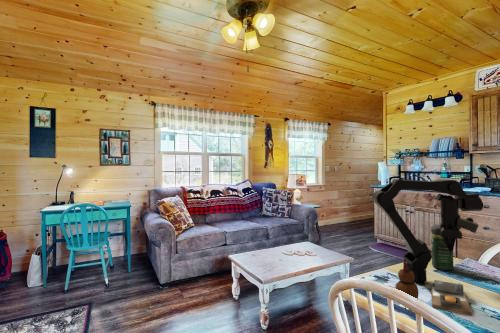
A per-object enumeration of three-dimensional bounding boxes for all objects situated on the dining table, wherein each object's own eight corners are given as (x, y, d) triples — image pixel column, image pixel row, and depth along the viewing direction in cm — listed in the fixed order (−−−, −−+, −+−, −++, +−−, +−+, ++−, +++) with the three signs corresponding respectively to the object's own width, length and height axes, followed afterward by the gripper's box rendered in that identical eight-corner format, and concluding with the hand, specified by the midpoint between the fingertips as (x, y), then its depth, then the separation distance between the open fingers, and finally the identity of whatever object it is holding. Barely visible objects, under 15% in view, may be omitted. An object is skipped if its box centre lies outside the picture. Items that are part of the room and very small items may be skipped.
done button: (445, 303, 87) (444, 298, 87) (444, 299, 89) (444, 294, 89) (456, 305, 85) (456, 301, 85) (455, 301, 87) (455, 296, 88)
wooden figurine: (408, 310, 86) (406, 263, 86) (392, 302, 91) (391, 258, 91) (422, 305, 89) (420, 260, 89) (406, 297, 94) (404, 255, 94)
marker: (431, 290, 96) (431, 280, 96) (431, 288, 99) (430, 278, 99) (463, 296, 91) (463, 285, 91) (462, 294, 94) (462, 283, 94)
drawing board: (432, 307, 87) (432, 299, 87) (430, 288, 100) (430, 282, 100) (471, 315, 82) (471, 307, 82) (465, 294, 95) (464, 287, 95)
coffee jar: (455, 272, 114) (454, 228, 114) (433, 269, 118) (431, 227, 118) (451, 264, 123) (450, 224, 123) (431, 262, 127) (429, 222, 127)
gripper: (479, 217, 93) (481, 262, 93) (473, 209, 109) (474, 247, 108) (440, 214, 99) (441, 256, 99) (439, 207, 115) (441, 244, 115)
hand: (451, 251), depth 105 cm, fingers closed
